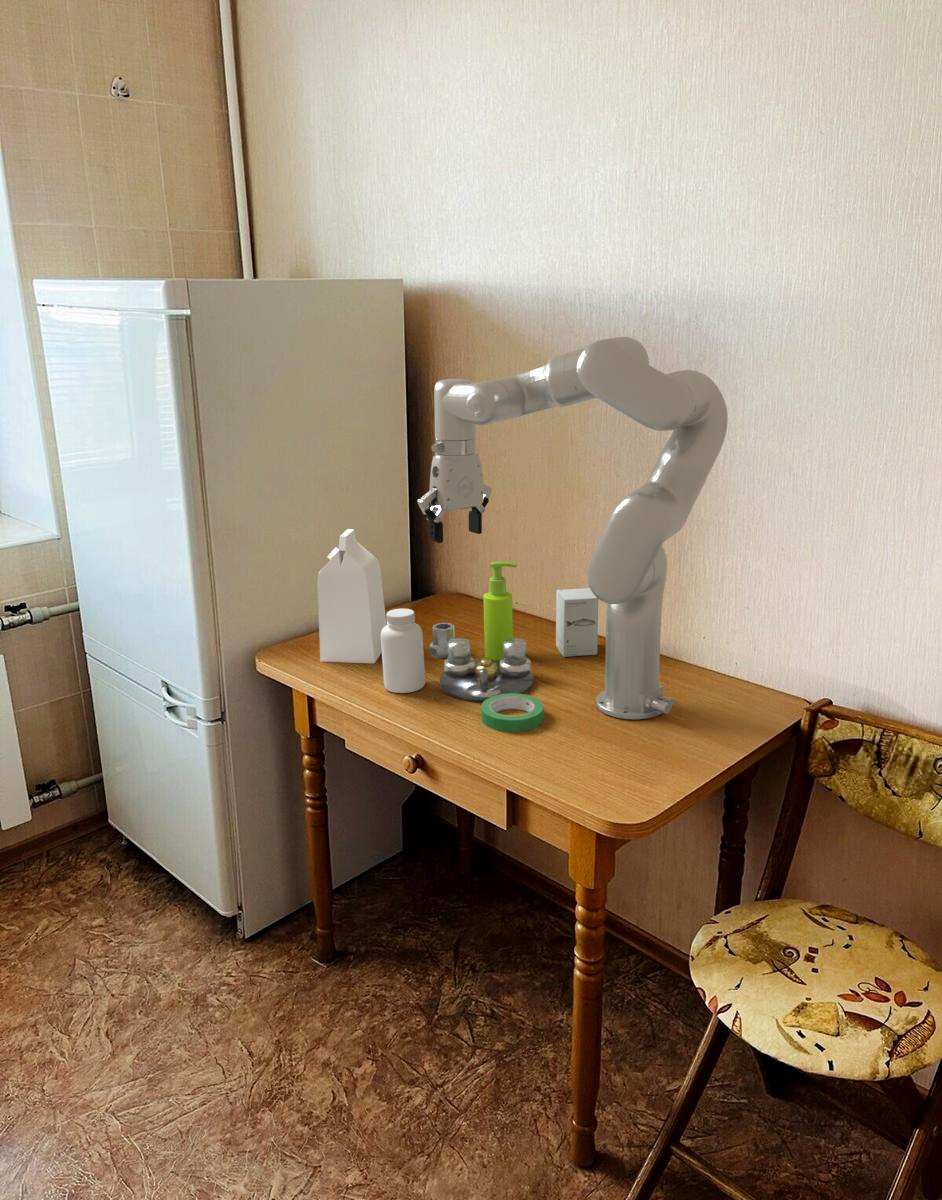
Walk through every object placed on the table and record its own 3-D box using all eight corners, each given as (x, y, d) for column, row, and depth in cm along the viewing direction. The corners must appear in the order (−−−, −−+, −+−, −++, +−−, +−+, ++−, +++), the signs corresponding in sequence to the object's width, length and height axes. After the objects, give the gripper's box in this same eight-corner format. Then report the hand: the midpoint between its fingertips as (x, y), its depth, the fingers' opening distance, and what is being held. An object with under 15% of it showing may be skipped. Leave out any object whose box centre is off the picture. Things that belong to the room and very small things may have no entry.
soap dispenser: (518, 659, 195) (517, 566, 189) (484, 660, 195) (482, 566, 189) (517, 649, 201) (516, 558, 194) (484, 650, 201) (482, 558, 195)
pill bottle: (399, 675, 189) (395, 603, 184) (433, 682, 185) (430, 609, 180) (375, 689, 182) (370, 615, 178) (410, 697, 178) (406, 622, 174)
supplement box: (563, 658, 195) (563, 599, 191) (555, 645, 202) (555, 588, 198) (598, 655, 196) (599, 597, 192) (589, 643, 203) (590, 586, 199)
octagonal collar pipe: (463, 653, 199) (462, 626, 197) (442, 660, 196) (441, 633, 194) (446, 646, 203) (445, 619, 202) (424, 653, 200) (423, 626, 198)
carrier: (552, 683, 183) (552, 648, 181) (481, 710, 172) (480, 673, 170) (490, 658, 196) (489, 625, 194) (420, 682, 185) (419, 647, 183)
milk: (374, 663, 195) (366, 540, 187) (320, 661, 197) (310, 539, 189) (388, 642, 207) (381, 525, 199) (337, 641, 208) (328, 525, 200)
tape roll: (549, 730, 164) (549, 716, 164) (486, 735, 163) (486, 721, 162) (536, 704, 175) (536, 690, 174) (477, 709, 173) (476, 695, 173)
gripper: (431, 455, 168) (433, 549, 174) (503, 444, 179) (502, 533, 185) (405, 450, 174) (408, 541, 179) (476, 439, 184) (477, 525, 190)
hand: (456, 536), depth 182 cm, fingers open, 9 cm apart
